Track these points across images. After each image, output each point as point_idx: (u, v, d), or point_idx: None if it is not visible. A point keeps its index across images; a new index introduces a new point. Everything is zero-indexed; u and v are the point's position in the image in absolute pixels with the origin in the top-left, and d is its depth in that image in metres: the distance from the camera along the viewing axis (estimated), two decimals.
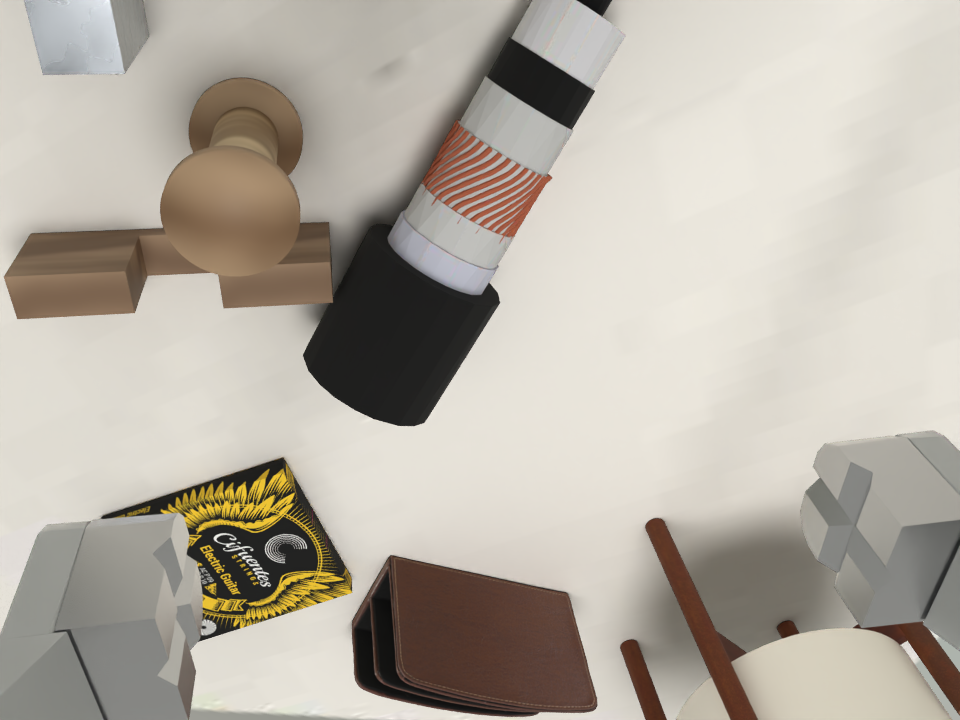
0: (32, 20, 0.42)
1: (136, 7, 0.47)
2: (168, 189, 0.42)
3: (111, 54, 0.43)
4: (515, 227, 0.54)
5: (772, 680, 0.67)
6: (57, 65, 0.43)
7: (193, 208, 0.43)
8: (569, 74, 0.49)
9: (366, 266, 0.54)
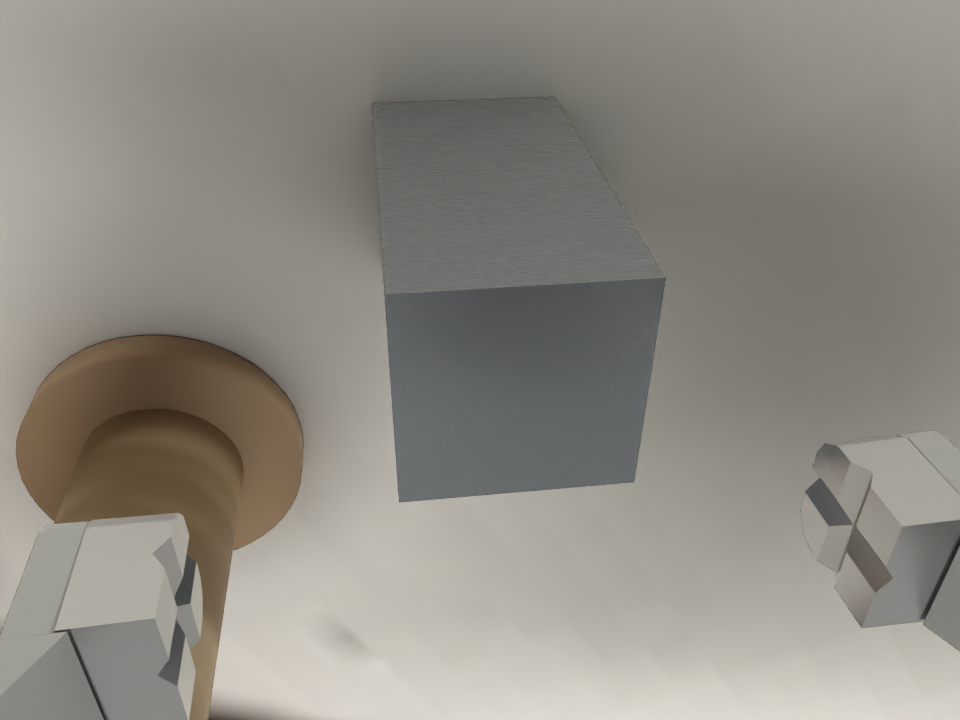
0: (572, 292, 0.12)
1: None
2: None
3: (457, 477, 0.14)
4: None
5: None
6: (419, 340, 0.12)
7: None
8: None
9: None
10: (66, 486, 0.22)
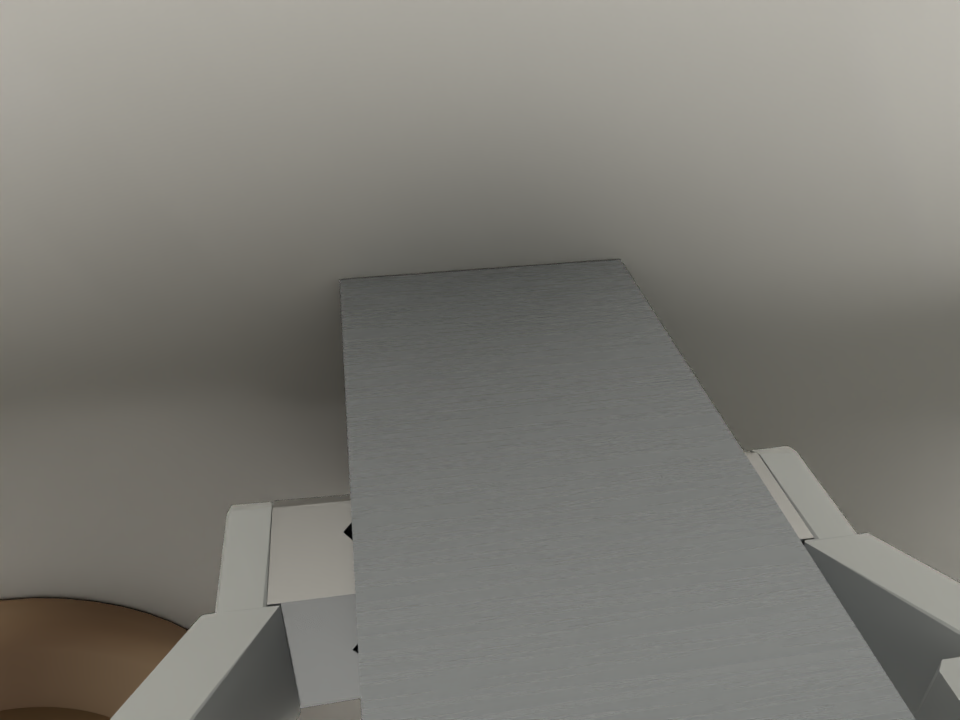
0: None
1: None
2: None
3: None
4: None
5: None
6: None
7: None
8: None
9: None
10: None
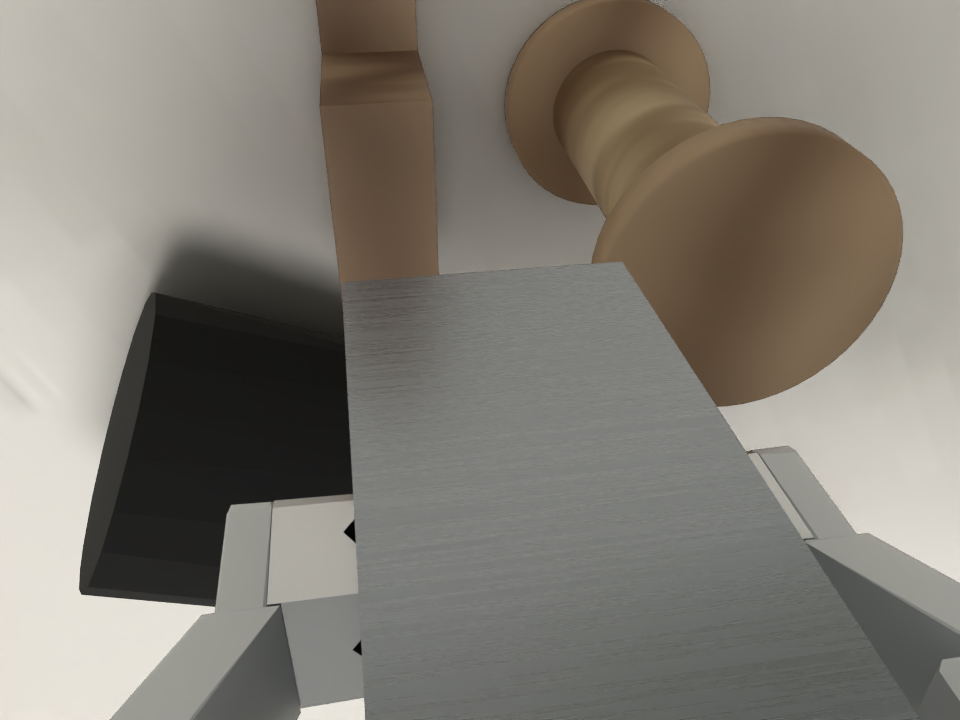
0: None
1: None
2: (851, 159, 0.18)
3: None
4: None
5: None
6: None
7: (792, 208, 0.18)
8: None
9: None
10: (538, 123, 0.29)
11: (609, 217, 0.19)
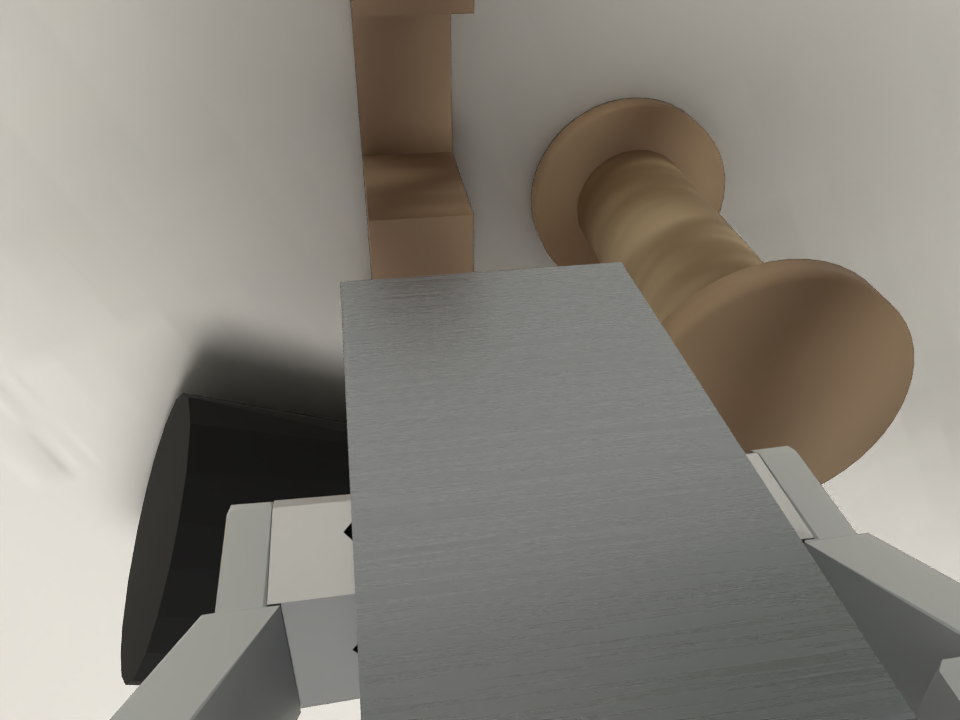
0: None
1: None
2: (869, 299, 0.19)
3: None
4: None
5: None
6: None
7: (814, 341, 0.20)
8: None
9: None
10: (563, 215, 0.30)
11: None
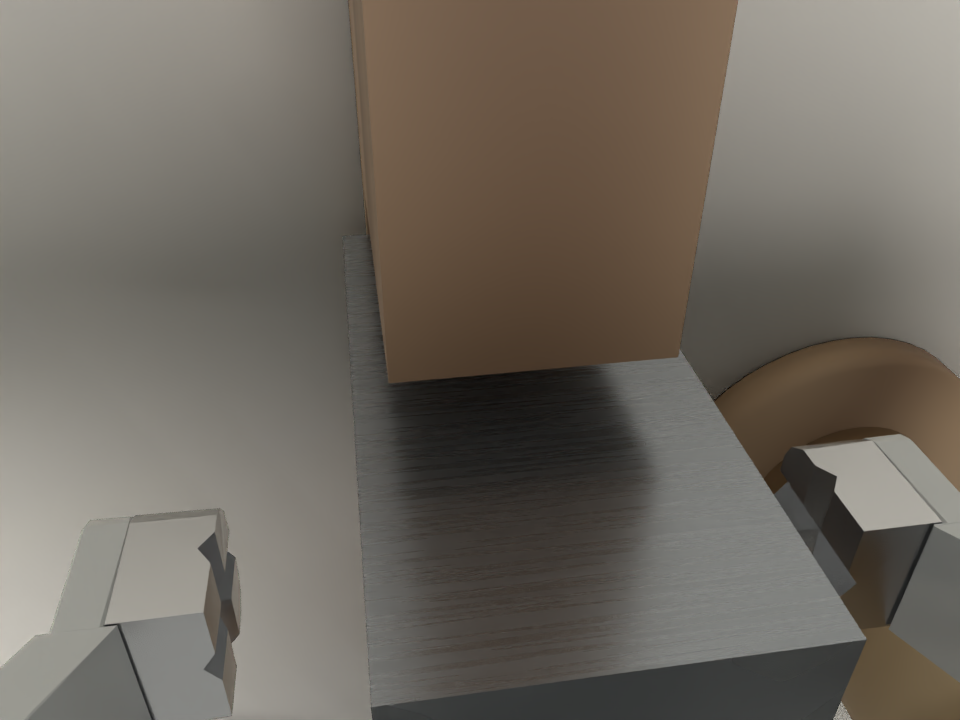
0: (706, 672, 0.07)
1: None
2: None
3: None
4: None
5: None
6: None
7: None
8: None
9: None
10: None
11: None
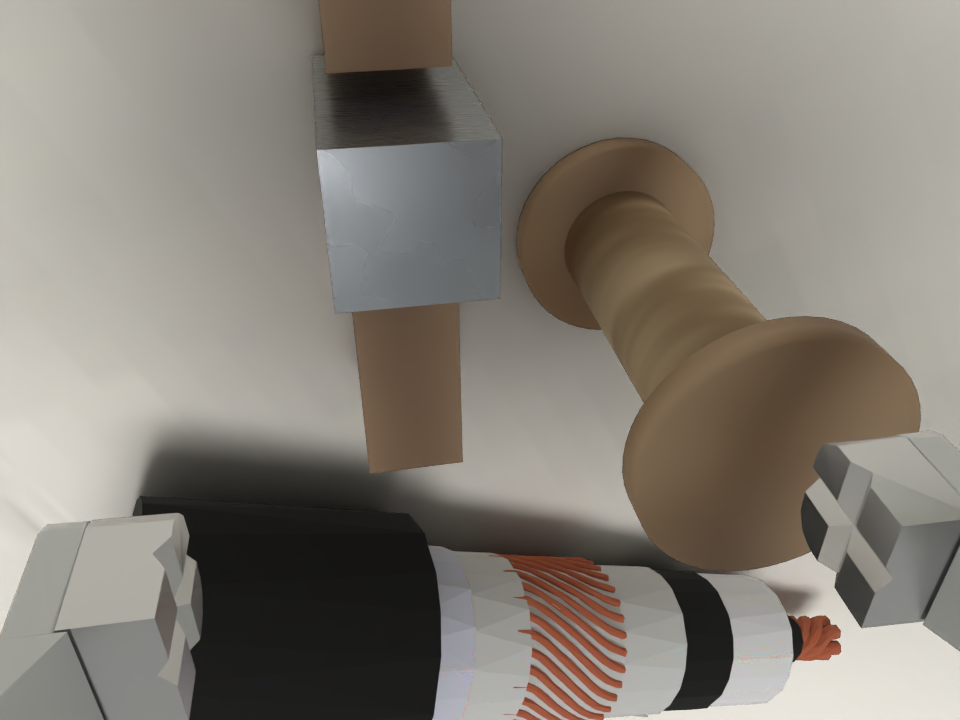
0: (441, 149, 0.18)
1: None
2: (873, 357, 0.18)
3: (374, 293, 0.20)
4: None
5: None
6: (341, 185, 0.18)
7: (817, 401, 0.19)
8: None
9: (395, 595, 0.29)
10: (549, 259, 0.29)
11: (642, 409, 0.19)
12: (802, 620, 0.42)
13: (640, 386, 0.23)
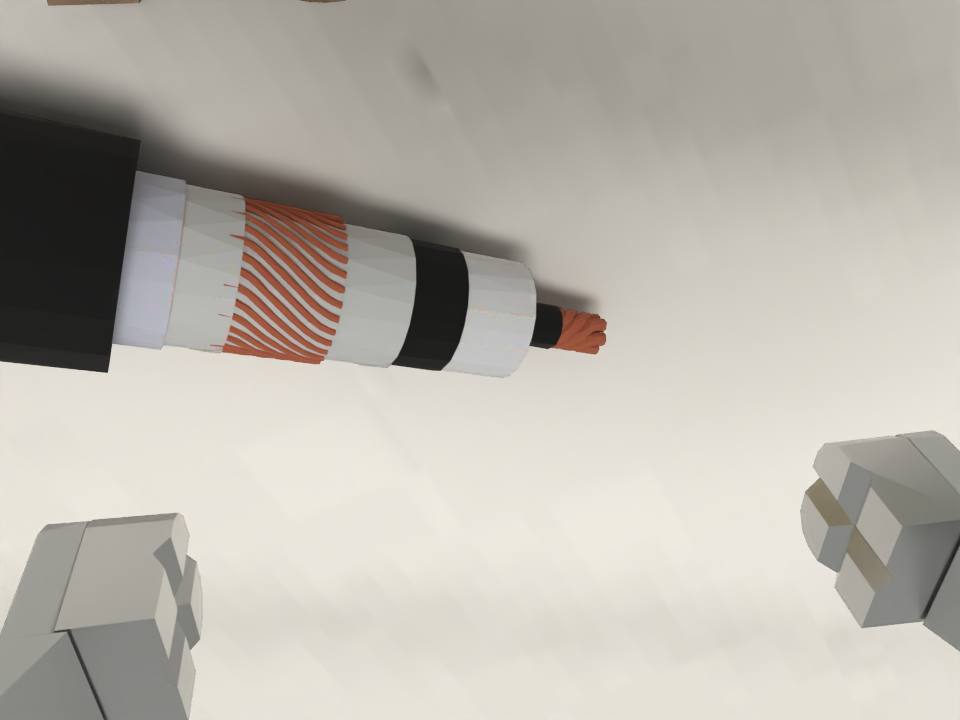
0: None
1: None
2: None
3: None
4: (236, 352, 0.37)
5: None
6: None
7: None
8: None
9: (88, 165, 0.31)
10: None
11: None
12: (568, 310, 0.44)
13: None
